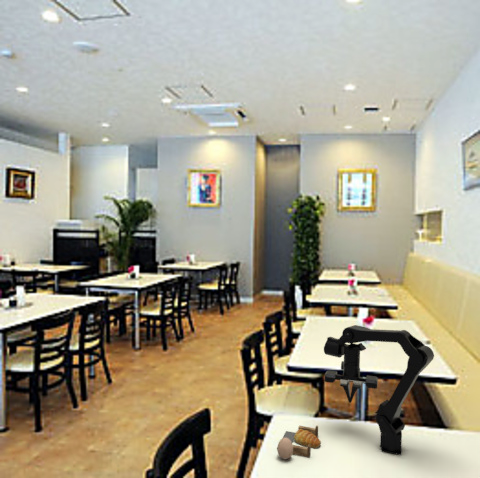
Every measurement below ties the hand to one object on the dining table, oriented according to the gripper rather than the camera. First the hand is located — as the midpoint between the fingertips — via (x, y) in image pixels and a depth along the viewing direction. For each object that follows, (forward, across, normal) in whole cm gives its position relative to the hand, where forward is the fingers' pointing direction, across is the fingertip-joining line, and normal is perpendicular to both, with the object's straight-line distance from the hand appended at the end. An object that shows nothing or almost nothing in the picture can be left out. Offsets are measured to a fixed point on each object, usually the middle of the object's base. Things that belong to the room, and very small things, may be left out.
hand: (350, 402), depth 169 cm
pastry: (+12, +13, +12) cm, 22 cm away
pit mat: (+12, +20, +14) cm, 27 cm away
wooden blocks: (+12, +14, +14) cm, 23 cm away
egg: (+12, +18, +26) cm, 34 cm away
